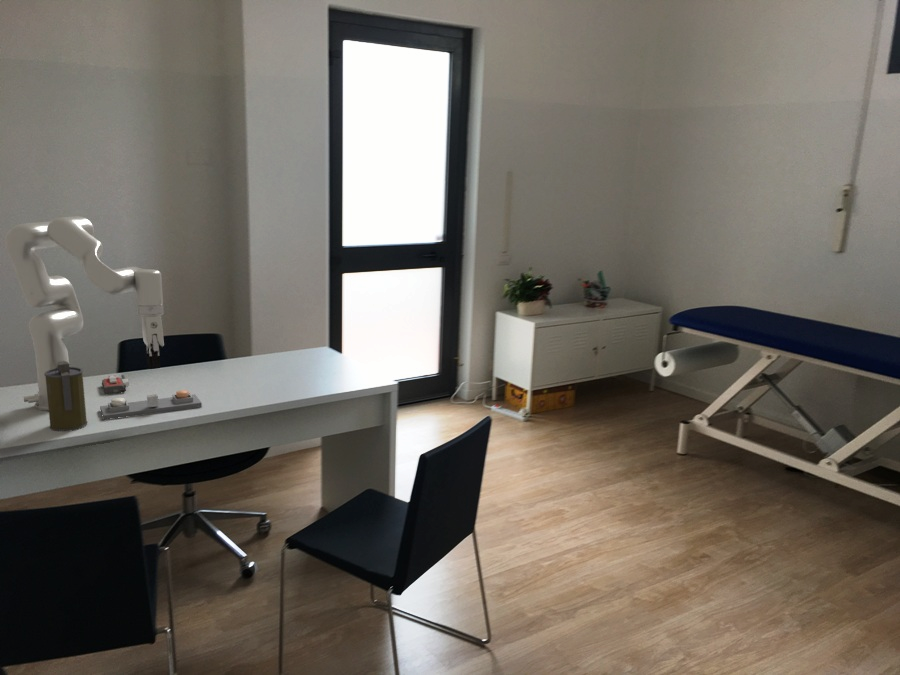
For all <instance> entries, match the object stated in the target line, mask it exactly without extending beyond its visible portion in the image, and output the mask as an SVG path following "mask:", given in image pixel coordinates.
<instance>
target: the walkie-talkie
mask: <svg viewBox="0 0 900 675" xmlns="http://www.w3.org/2000/svg"><path fill="white" fill-rule="evenodd" d="M101 386H102V389H104V390H103V392H104V395H106V394H108V395H114V394H113V393H117V394H122V393H121V392H124V393H125V392H127V388H129V387H130V383H129V378H126V376H125V374H122V375H121V377H116V375H115V374H113V375H108V377H107V378H104V379H101ZM128 386H129V387H128ZM126 387H127V388H126Z"/></svg>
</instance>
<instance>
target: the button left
mask: <svg viewBox="0 0 900 675" xmlns="http://www.w3.org/2000/svg"><path fill="white" fill-rule="evenodd" d="M125 401H126V399H125V398H124V397H116V398H112V399H111V402H110V403H112V407H118V406H124V405H125Z"/></svg>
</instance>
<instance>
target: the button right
mask: <svg viewBox="0 0 900 675" xmlns="http://www.w3.org/2000/svg"><path fill="white" fill-rule="evenodd" d="M189 393H190V391H189V390H186V389H181V390H177V391H176V393H175V395H176V398H178V399H181V398H188V397H189Z"/></svg>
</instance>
